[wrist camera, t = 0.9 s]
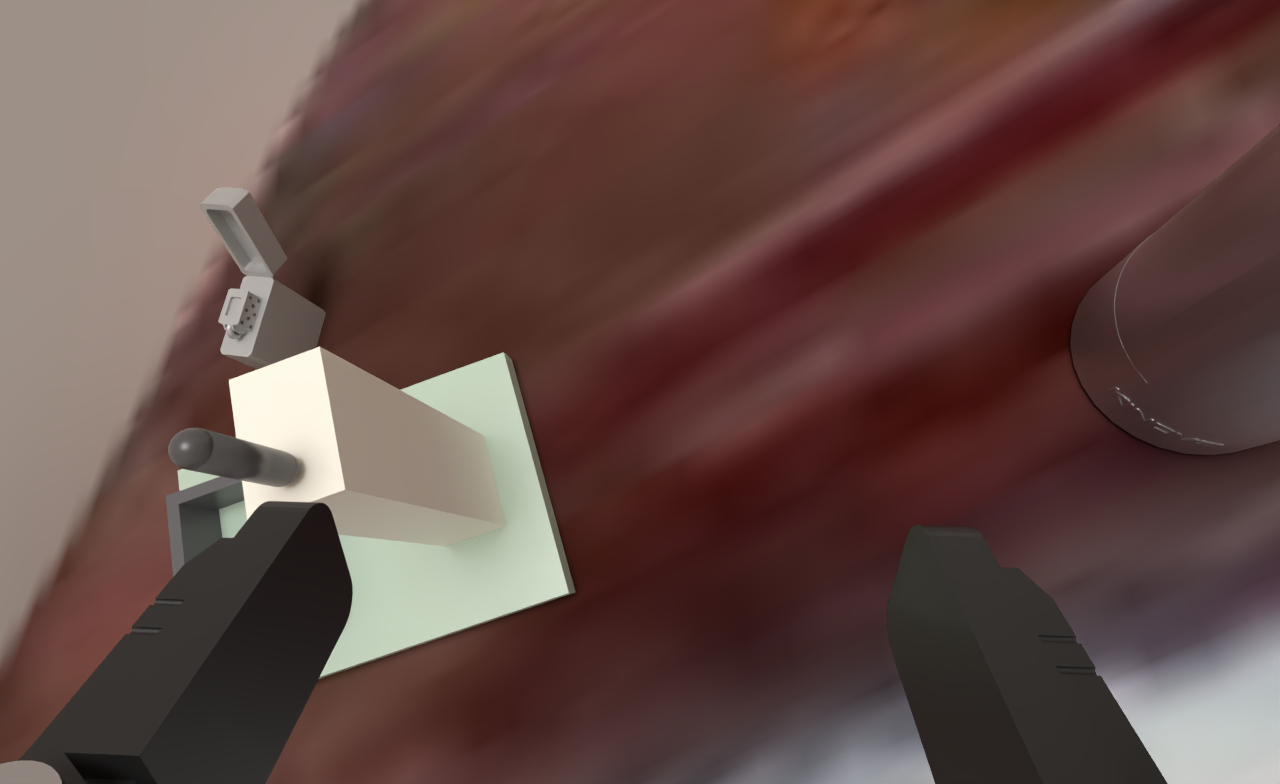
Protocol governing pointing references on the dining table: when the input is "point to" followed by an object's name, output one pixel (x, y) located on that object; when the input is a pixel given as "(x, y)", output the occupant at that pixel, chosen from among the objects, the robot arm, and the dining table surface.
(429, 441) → the cream rectangular pillar
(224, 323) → the lighter
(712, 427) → the dining table surface
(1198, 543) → the dining table surface
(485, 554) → the board
